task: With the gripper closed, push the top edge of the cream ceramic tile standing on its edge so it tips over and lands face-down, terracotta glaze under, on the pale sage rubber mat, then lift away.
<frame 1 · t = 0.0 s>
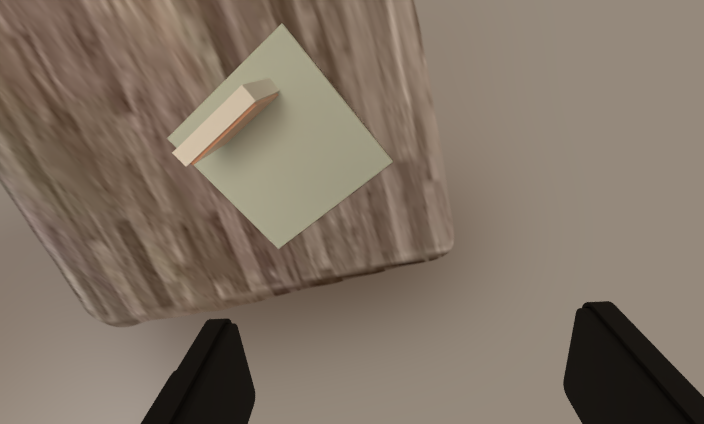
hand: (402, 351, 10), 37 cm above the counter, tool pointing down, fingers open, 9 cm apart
mat: (280, 149, 46), on the counter
tile: (245, 111, 44), point 1 cm above the counter, touching mat
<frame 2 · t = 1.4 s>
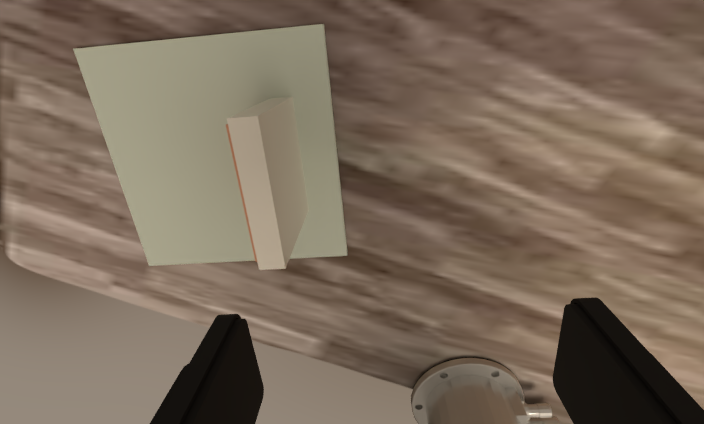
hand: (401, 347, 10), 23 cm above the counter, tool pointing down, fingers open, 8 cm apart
mat: (226, 160, 33), on the counter
tile: (290, 157, 32), point 1 cm above the counter, touching mat
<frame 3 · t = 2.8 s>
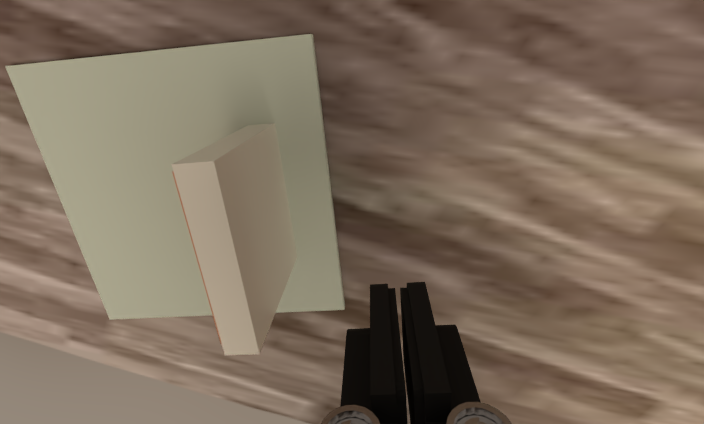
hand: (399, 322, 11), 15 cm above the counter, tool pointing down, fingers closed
mat: (196, 198, 27), on the counter
tile: (274, 195, 26), point 1 cm above the counter, touching mat
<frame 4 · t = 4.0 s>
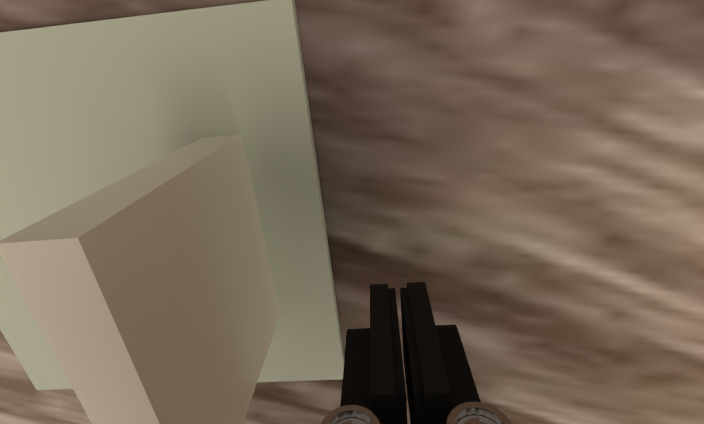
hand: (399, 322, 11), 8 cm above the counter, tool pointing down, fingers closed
mat: (138, 237, 19), on the counter
tile: (245, 235, 18), point 1 cm above the counter, touching mat
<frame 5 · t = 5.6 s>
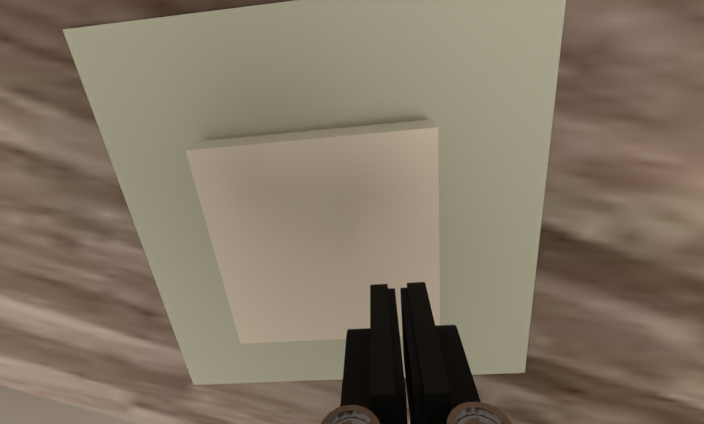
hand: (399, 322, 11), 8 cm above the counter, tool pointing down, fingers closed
mat: (333, 224, 19), on the counter
tile: (435, 234, 17), point 2 cm above the counter, tilted 90°, touching mat
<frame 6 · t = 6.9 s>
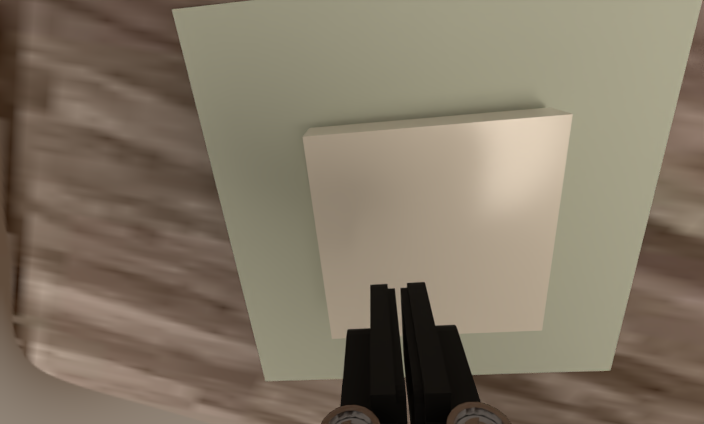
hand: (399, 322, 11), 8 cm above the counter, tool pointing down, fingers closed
mat: (428, 217, 18), on the counter
tile: (546, 226, 16), point 2 cm above the counter, tilted 90°, touching mat
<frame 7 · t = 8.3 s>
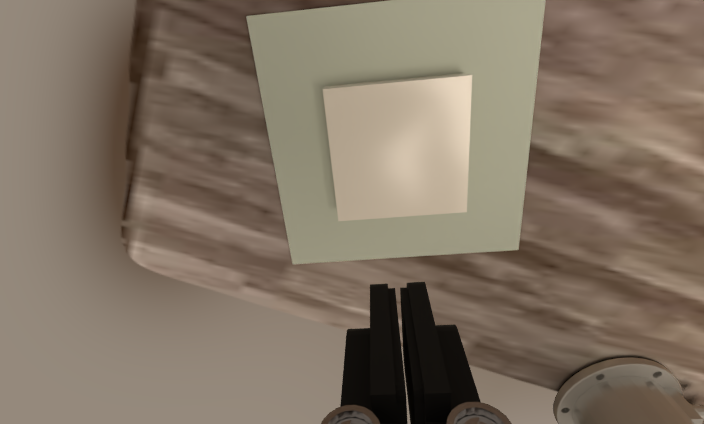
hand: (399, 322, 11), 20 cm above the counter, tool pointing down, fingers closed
mat: (398, 145, 29), on the counter
tile: (466, 145, 27), point 2 cm above the counter, tilted 90°, touching mat
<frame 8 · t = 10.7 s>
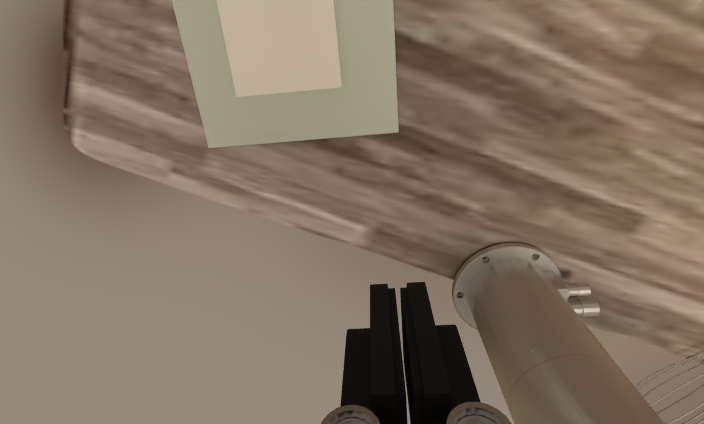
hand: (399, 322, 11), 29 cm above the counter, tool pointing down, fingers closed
mat: (287, 34, 35), on the counter
tile: (336, 27, 33), point 2 cm above the counter, tilted 90°, touching mat
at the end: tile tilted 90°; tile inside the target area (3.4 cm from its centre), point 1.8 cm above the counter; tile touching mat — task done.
